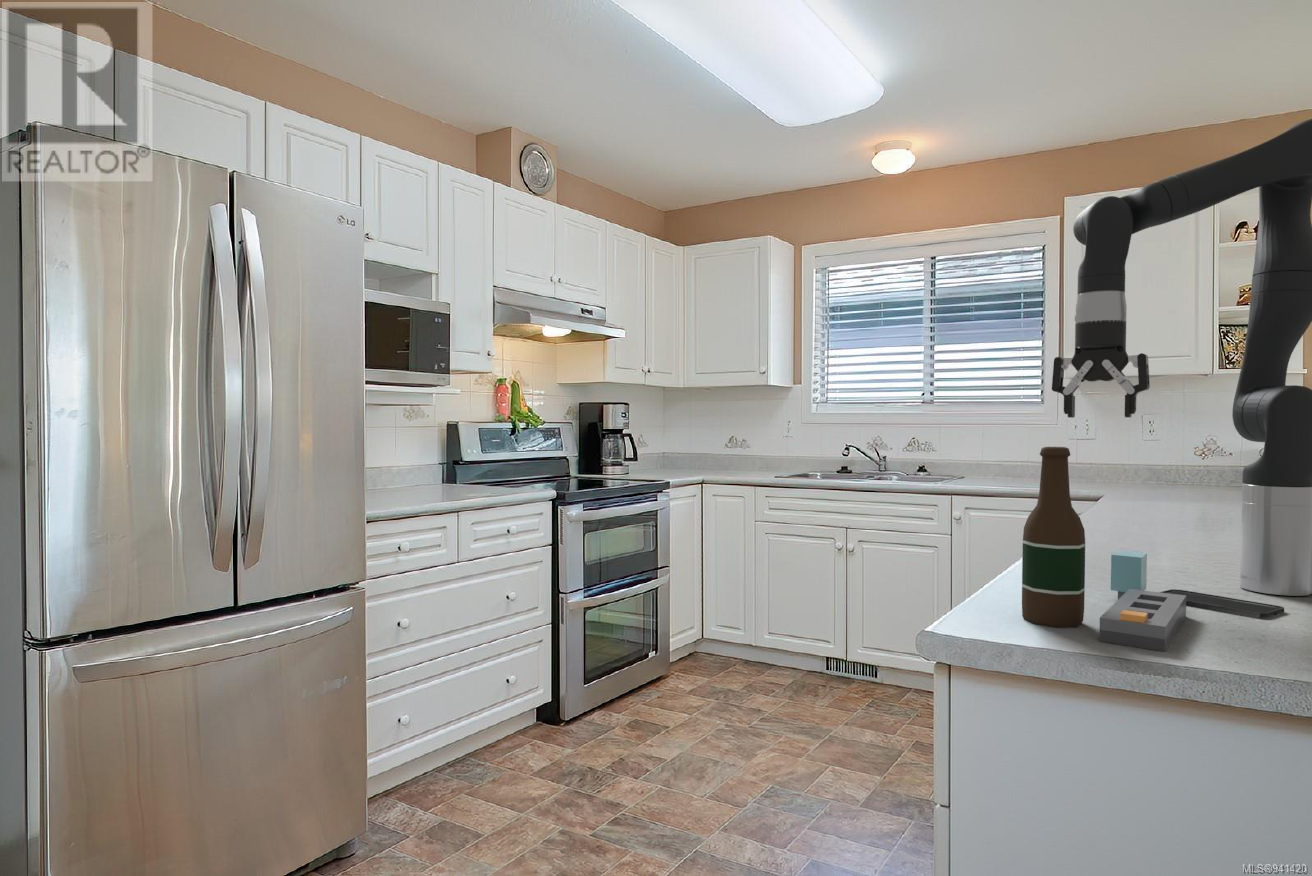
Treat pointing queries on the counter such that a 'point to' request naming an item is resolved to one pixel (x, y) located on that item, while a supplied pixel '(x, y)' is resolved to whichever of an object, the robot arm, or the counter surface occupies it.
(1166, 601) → the power strip
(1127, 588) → the block
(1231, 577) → the counter surface
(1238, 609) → the phone
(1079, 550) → the beer bottle
